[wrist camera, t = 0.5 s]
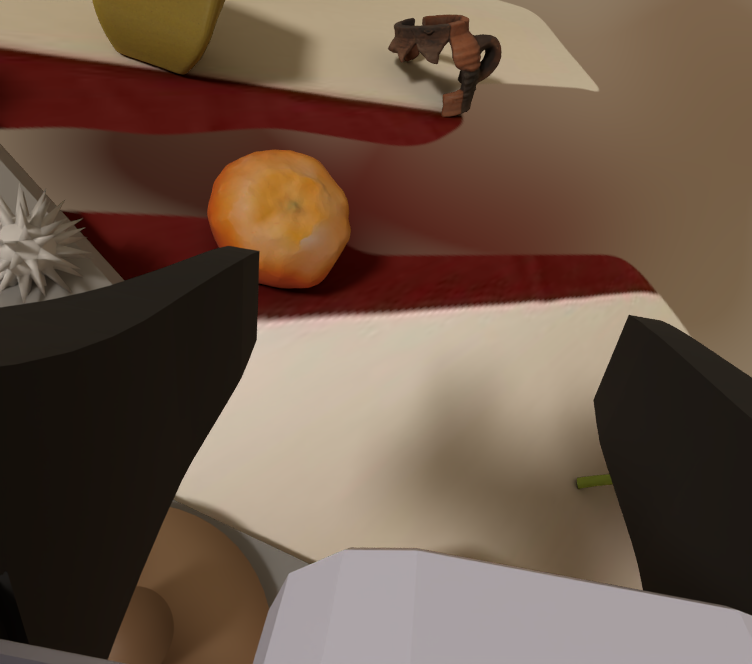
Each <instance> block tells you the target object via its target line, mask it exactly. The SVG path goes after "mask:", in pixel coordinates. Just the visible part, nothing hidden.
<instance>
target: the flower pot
mask: <svg viewBox="0 0 752 664" xmlns="http://www.w3.org/2000/svg"><path fill="white" fill-rule="evenodd" d="M224 2H225V0H93V4H94V8H95V11H96V14H97V16H98V19H99V22H100V24H101V26H102V28H103V30H104V32H105V34H106V36H107V37H108V39H109V41H110V42H111V44H112V45H113V47H114V48H115V50H116V51H117V52H119V53H121V54H123V55H126V56H129V57H132V58H135V59H138V60H141V61H143V62H146V63H149V64H152V65H155V66H158V67H161V68H164V69H167V70H169V71H172V72H175V73H177V74H181V75H184V74H187V73H188V72H189V71H190V70H191V69H192V68H193V67H194V66H195V65H196V64H197V62H198V61H199V60H200V59H201V57H202V55H203V54H204V52H205V50H206V48H207V46H208V44H209V42H210V39H211V37H212V34H213V31H214V28H215V25H216V22H217V19H218V17H219V14H220V12H221V9H222V7H223V5H224Z"/></svg>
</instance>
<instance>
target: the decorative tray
mask: <svg viewBox="0 0 752 664" xmlns="http://www.w3.org/2000/svg"><path fill="white" fill-rule="evenodd" d="M63 202H64V201H63ZM63 202H62V203H60V204H59V205H58V206H56V205H55V204H54V203H53V202H52V201H51V199H50V198H49V197H48V196H47V195H46V194H45V191H44V192H43V191H42V189H41V188H40V187H39V186H38V185H37V184H36V183H35V182H34V181H33V180H32V178H31V177H30V176H29V175H28V174H27V173H26V172H25V171H24V170H23V168H22V167H21V166H20V165H19V164H18V163H17V162H16V161H15V160H14V159H13V157H12V156H11V155H10V154H9V153H8V152H7V151H6V150H5V149H4V148H3V146H2V145H1V144H0V307H6V306H13V305H20V304H26V303H33V302H40V301H46V300H51V299H56V298H60V297H65V296H69V295H74V294H78V293H83V292H87V291H91V290H95V289H99V288H102V287H106V286H110V285H113V284H116V283H119V282H122V281H124V280H123V278H122V277H121V276H120V275H119V274H118V273H117V272H116V271H115V270H114V269H113V267H112V266H111V265H110V264H109V263H108V262H107V261H106V260H105V259H104V258H103V256H102V255H101V254H100V253H99V252H98V251H97V250H96V249H95V248H94V247H93V245H92V244H91V243H90V242H89V241H88V240H87V239H86V238H87V237H84V236H83V234H82V233H81V232H80V231H81V230H82V229H84V228H81V229H77V228H76V227H75V226H74V225H75V224H76V223H77V222H79V221H80V220H82V219H83V218H82V219H79V220H75V221H72V222H71V221H70V220H69V219H68V218H67V217H66V216H65V215H64V214H63V212H62V211H61V210H60V208H61V206H62V204H63ZM85 228H86V227H85Z"/></svg>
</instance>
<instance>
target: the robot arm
mask: <svg viewBox="0 0 752 664" xmlns="http://www.w3.org/2000/svg"><path fill="white" fill-rule="evenodd" d="M259 255H260V251H257V250H251V249H245V248H239V247H234V246H225V247H221V248H217V249H214V250H211V251H208V252H205V253H202V254H199V255H197V256H194V257H191V258H189V259H186V260H183V261H181V262H178V263H175V264H172V265H170V266H167V267H164V268H162V269H159V270H156V271H153V272H150V273H147V274H144V275H141V276H138V277H135V278H131V279H128V280H125V281H122V282H119V283H116V284H113V285H110V286H106V287H102V288H99V289H95V290H91V291H87V292H83V293H78V294H74V295H69V296H65V297H60V298H56V299H51V300H46V301H40V302H33V303H26V304H20V305H13V306H6V307H0V664H126V663H121V662H116V661H110V660H108V658H109V655H110V652H111V650H112V647H113V644H114V642H115V639H116V636H117V633H118V631H119V628H120V626H121V623H122V621H123V618H124V616H125V613H126V611H127V608H128V606H129V603H130V601H131V598H132V596H133V593H134V591H135V588H136V586H137V583H138V581H139V578H140V575H141V573H142V571H143V568H144V566H145V564H146V561H147V559H148V556H149V554H150V552H151V549H152V547H153V545H154V542H155V540H156V538H157V535H158V533H159V530H160V528H161V526H162V523H163V521H164V519H165V517H166V515H167V512H168V510H169V508H170V506H171V503H172V501H173V499H174V497H175V495H176V492H177V490H178V488H179V486H180V483H181V481H182V479H183V477H184V475H185V474H186V472H187V470H188V468H189V466H190V464H191V462H192V460H193V459H194V457H195V455H196V454H197V452H198V450H199V449H200V447H201V445H202V444H203V442H204V440H205V439H206V437H207V435H208V434H209V432H210V430H211V429H212V427H213V425H214V424H215V422H216V420H217V419H218V417H219V415H220V414H221V412H222V410H223V409H224V407H225V405H226V404H227V402H228V400H229V398H230V397H231V395H232V393H233V392H234V390H235V388H236V386H237V385H238V383H239V381H240V379H241V378H242V375H243V373H244V370H245V368H246V366H247V363H248V361H249V358H250V356H251V353H252V350H253V348H254V345H255V343H256V340H257V313H258V284H259ZM594 407H595V415H596V423H597V429H598V435H599V440H600V445H601V448H602V452H603V455H604V458H605V461H606V464H607V468H608V471H609V474H610V477H611V480H612V483H613V486H614V489H615V492H616V495H617V498H618V502H619V505H620V508H621V511H622V514H623V517H624V520H625V523H626V526H627V529H628V532H629V535H630V538H631V541H632V545H633V549H634V552H635V556H636V559H637V563H638V567H639V572H640V577H641V582H642V587H643V590H638V589H633V588H627V587H622V586H616V585H611V584H606V583H600V582H595V581H590V580H584V579H579V578H574V577H568V576H563V575H558V574H552V573H547V572H541V571H536V570H531V569H525V568H520V567H515V566H509V565H504V564H499V563H493V562H488V561H483V560H477V559H472V558H466V557H461V556H456V555H450V554H445V553H440V552H434V551H429V550H424V549H418V548H348V549H345V550H342V551H340V552H337V553H335V554H333V555H330V556H328V557H326V558H323V559H321V560H319V561H317V562H314V563H312V564H310V565H307V566H305V567H303V568H300V569H298V570H296V571H293V572H291V573H289V574H288V576H287V578H286V580H285V582H284V583H283V585H282V587H281V589H280V591H279V593H278V594H277V596H276V598H275V600H274V602H273V604H272V605H271V607H270V609H269V611H268V614H267V617H266V621H265V624H264V627H263V631H262V634H261V638H260V641H259V644H258V648H257V651H256V654H255V658H254V661H253V664H752V378H751V377H750V376H749V375H747V374H745V373H744V372H742V371H741V370H739V369H738V368H736V367H735V366H734V365H732V364H731V363H729V362H728V361H726V360H724V359H723V358H722V357H720V356H719V355H717V354H716V353H714V352H713V351H711V350H710V349H708V348H707V347H705V346H704V345H702V344H701V343H699V342H698V341H696V340H695V339H693V338H692V337H690V336H688V335H687V334H685V333H684V332H682V331H680V330H679V329H677V328H675V327H673V326H671V325H670V324H667V323H665V322H663V321H660V320H655V319H649V318H643V317H637V316H632V315H629V316H628V318H627V321H626V323H625V326H624V328H623V330H622V333H621V335H620V338H619V340H618V342H617V345H616V347H615V350H614V352H613V354H612V357H611V359H610V362H609V364H608V366H607V369H606V371H605V374H604V376H603V378H602V381H601V383H600V386H599V388H598V390H597V393H596V395H595V398H594Z"/></svg>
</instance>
